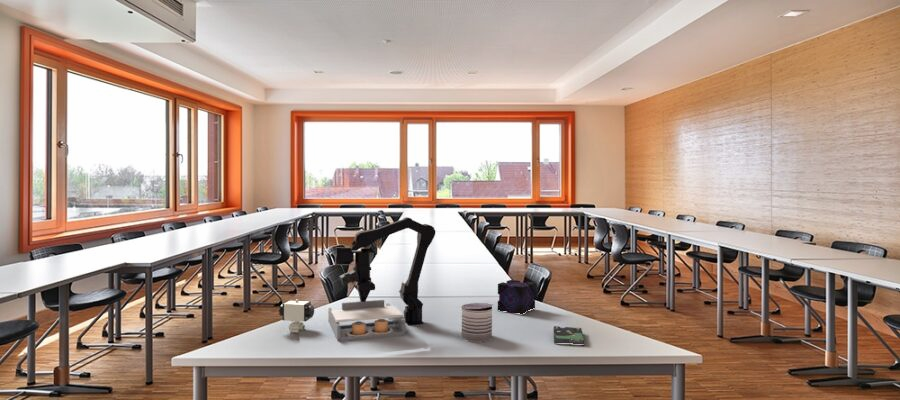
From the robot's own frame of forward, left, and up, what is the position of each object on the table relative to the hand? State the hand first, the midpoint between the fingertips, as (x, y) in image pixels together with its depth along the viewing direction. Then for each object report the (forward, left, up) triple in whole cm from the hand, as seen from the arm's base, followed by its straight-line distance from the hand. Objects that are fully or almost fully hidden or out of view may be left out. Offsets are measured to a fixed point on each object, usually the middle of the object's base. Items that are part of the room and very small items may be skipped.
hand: (362, 304), depth 191 cm
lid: (0, +8, -2) cm, 8 cm away
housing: (0, +6, -8) cm, 10 cm away
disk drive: (-66, +40, -9) cm, 78 cm away
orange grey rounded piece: (-4, +15, -7) cm, 17 cm away
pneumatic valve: (+24, 0, -8) cm, 25 cm away
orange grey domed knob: (+4, +15, -7) cm, 17 cm away
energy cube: (-68, -2, -9) cm, 69 cm away
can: (-36, +28, -8) cm, 46 cm away
